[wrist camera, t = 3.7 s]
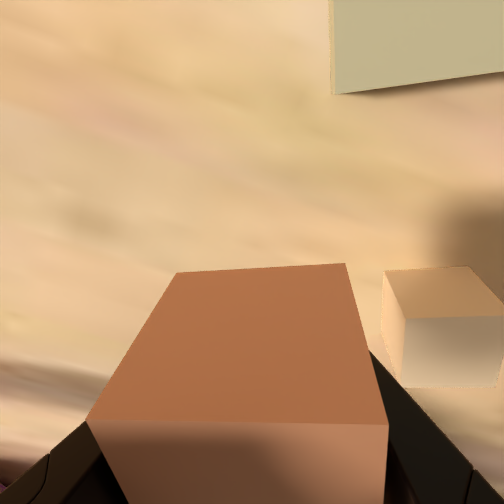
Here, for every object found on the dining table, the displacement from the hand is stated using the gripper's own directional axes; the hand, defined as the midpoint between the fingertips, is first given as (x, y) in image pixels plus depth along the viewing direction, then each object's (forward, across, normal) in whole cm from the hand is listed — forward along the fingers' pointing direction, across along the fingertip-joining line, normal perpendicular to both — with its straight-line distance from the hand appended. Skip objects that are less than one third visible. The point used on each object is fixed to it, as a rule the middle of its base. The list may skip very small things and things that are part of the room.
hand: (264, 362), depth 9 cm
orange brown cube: (+1, 0, 0) cm, 1 cm away
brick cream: (+11, -8, +6) cm, 15 cm away
